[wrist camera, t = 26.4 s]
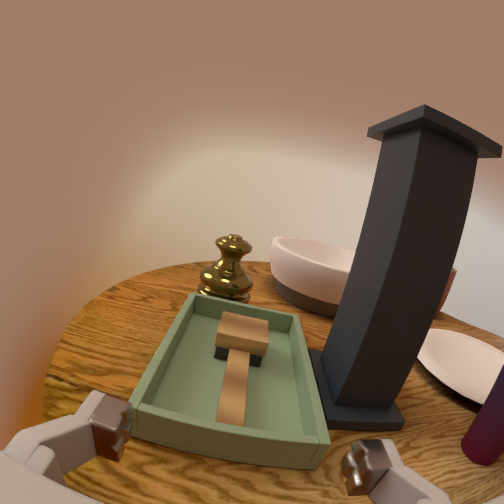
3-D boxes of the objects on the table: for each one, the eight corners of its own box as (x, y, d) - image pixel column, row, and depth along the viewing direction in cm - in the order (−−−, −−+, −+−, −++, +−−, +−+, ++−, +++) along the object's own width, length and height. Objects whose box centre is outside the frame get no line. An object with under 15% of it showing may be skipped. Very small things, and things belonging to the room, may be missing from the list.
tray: (126, 434, 18) (125, 405, 17) (187, 313, 39) (190, 291, 38) (315, 470, 18) (331, 444, 17) (292, 335, 39) (298, 314, 38)
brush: (260, 450, 19) (271, 423, 18) (189, 436, 19) (194, 408, 18) (261, 343, 34) (268, 320, 34) (218, 334, 34) (223, 310, 33)
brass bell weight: (238, 295, 48) (252, 233, 46) (254, 318, 42) (271, 247, 39) (191, 291, 46) (203, 225, 44) (200, 314, 39) (214, 239, 37)
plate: (546, 437, 18) (553, 426, 18) (392, 380, 32) (398, 369, 31) (520, 364, 39) (524, 356, 38) (416, 323, 52) (419, 315, 52)
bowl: (305, 271, 71) (314, 236, 69) (393, 310, 57) (406, 270, 55) (235, 281, 55) (245, 234, 53) (346, 340, 40) (366, 284, 39)
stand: (322, 428, 23) (424, 103, 17) (305, 356, 34) (368, 127, 28) (400, 430, 23) (502, 146, 17) (366, 365, 35) (432, 152, 29)
